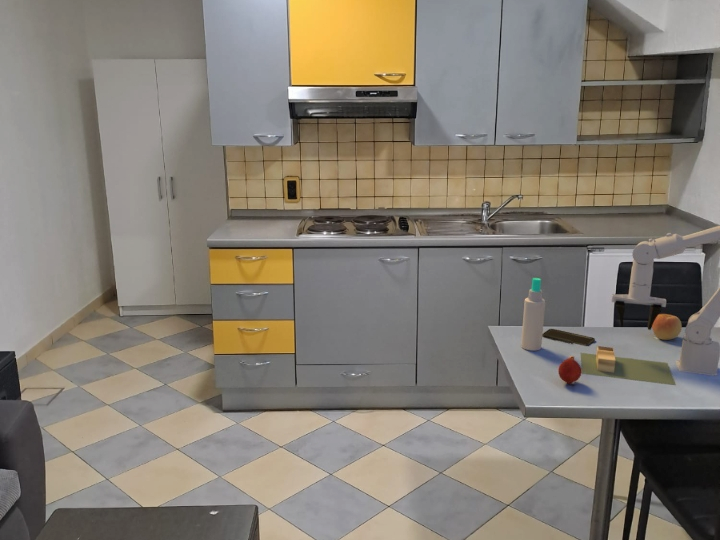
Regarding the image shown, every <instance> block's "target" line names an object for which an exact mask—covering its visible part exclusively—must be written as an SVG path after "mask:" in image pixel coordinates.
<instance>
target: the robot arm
mask: <svg viewBox="0 0 720 540" xmlns="http://www.w3.org/2000/svg"><path fill="white" fill-rule="evenodd" d="M714 242H720V225H716V226H713V227H710V228H707V229H704V230H701V231H697V232H694V233H690V234H686V235H681V234H678V233H674V234H673V233H672V232H668V233H666V235H665V236H661V237H658V238H655V239H654V238H648V241H647V240H644V241H643V240H642V241H641V242H639V243H638V244H636V246H635V247H634V248H633V250H632V255H631V256H632V258H633V261H632V266H631V273H630V280H629V287H628V288H629V289H628V294H627V293H626V294H620V293H619V294H615V293H614V294H613V293H612V295H611V303H615V306H616V308H617V312H618V318H619V327H621V328H623V327H624V315H625V309H626V306H625V305H626V304H634V305H635V304H636V305H645V306H649V317H648V320H647V330H649V331H650V330H652V325H653V323H654V321H655V319H656V317H657V316H658V315H659V314H661V312H662V309H663V308H666V306H667V299H666V298H660V297H654V296H651V291H652V282H653V281H652V280H653V276H654V275H653V274H654V261H655V260H654V259H656V260H660V259H664V258H668V257H672V256H675V255H676V256H678V255H680V254H683V253H684V251H685V250H686V248H689V247H694V246H700V245H705V244H708V243H714ZM625 303H626V304H625ZM719 319H720V286H719V287H718V289H717V290H716V291H715V292H714V293H713V295H711V297H710V298H709V300H708V301H707V302H706V304H705V305H704V306H702V308H700V310H699V311H697V312H695V313H694V314H692V315H691V316H690V317H689V318H688V320H687V324H686V326H685V329H684V334H683V337H682V342H681V349H680V356H679V357H680V358H679V360H675V363H676V366H677V368H678V370H679V372H681V373H682V372H683V373H691V374H701V375H707V376H718V367H719V361H720V343H719V341H715V340H712V337H711V334H712V330H713V328H714V327H715V325H716V324H717V322H718V320H719Z"/></svg>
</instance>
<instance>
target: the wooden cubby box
mask: <svg viewBox="0 0 720 540" xmlns="http://www.w3.org/2000/svg"><path fill="white" fill-rule="evenodd" d="M614 349H615V348H614V347H608V346H600V345H597V349H596V362H597V371H605V372H613V373H614V368H615V357H616V355H615V350H614Z"/></svg>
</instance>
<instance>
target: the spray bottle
mask: <svg viewBox="0 0 720 540" xmlns="http://www.w3.org/2000/svg"><path fill="white" fill-rule="evenodd" d="M531 282H532V283H531V288H530V289H529V290H528V297H526V298H525V299H524V302H523V303H524V306H523V316H522V317H523V319H522V331H521V339H520V340H521V343H520V346H521V348H522V349H524V350H527V351H531V352H533V351H534V352H535V351H539V350H541V349H542V342H543V337H542V334H543V333H544V332H543V331H544V321H545V320H544V319H545V309H546V300H545V299H544V298H543V290H542V289H541V286H542V285H541V283H542V279H541V278H538V277H532V281H531Z"/></svg>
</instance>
